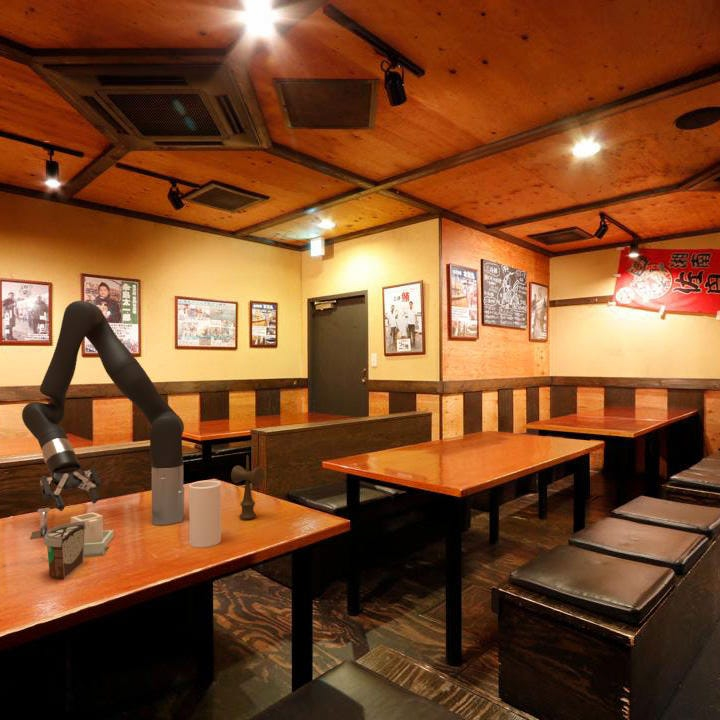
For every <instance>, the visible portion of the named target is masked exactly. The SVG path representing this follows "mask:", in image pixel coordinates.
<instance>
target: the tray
mask: <svg viewBox="0 0 720 720" xmlns="http://www.w3.org/2000/svg"><path fill="white" fill-rule="evenodd" d="M113 537H115V531H114V529H112V530H111V529H107V530H103V540H102V542H99V543H86V544H84V555H83V558H89V557H101V556H104V555H105V554H106V552H107V551H108V550H109V549H110V546H107V545H108V544H109V543H110V542H111V540H112V539H113Z"/></svg>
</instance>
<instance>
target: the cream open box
mask: <svg viewBox="0 0 720 720" xmlns="http://www.w3.org/2000/svg"><path fill="white" fill-rule="evenodd" d="M83 521H85V525H86V529H85V533H84V544H86V543H99V542H102V540H103V539H104V538H103V531H104V515H102V514H99V513H96V512H93V511H92V512H89V513H84V514H80V515H75V516H71V517H70V523H73V522H83Z"/></svg>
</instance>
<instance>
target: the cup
mask: <svg viewBox="0 0 720 720" xmlns="http://www.w3.org/2000/svg"><path fill="white" fill-rule="evenodd" d="M221 487H222V485H221V481H218V480H199V481H195V482H192V483H189V546H191V547H193V548H194V547H195V548H209V547H214V546H216V545H218V544H220V543H221V540H222V523H221V521H222V519H221V518H222V514H221V513H222V511H221V510H222V506H221V505H222V502H221V501H222V497H221V496H222V493H221V491H222V490H221Z"/></svg>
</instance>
